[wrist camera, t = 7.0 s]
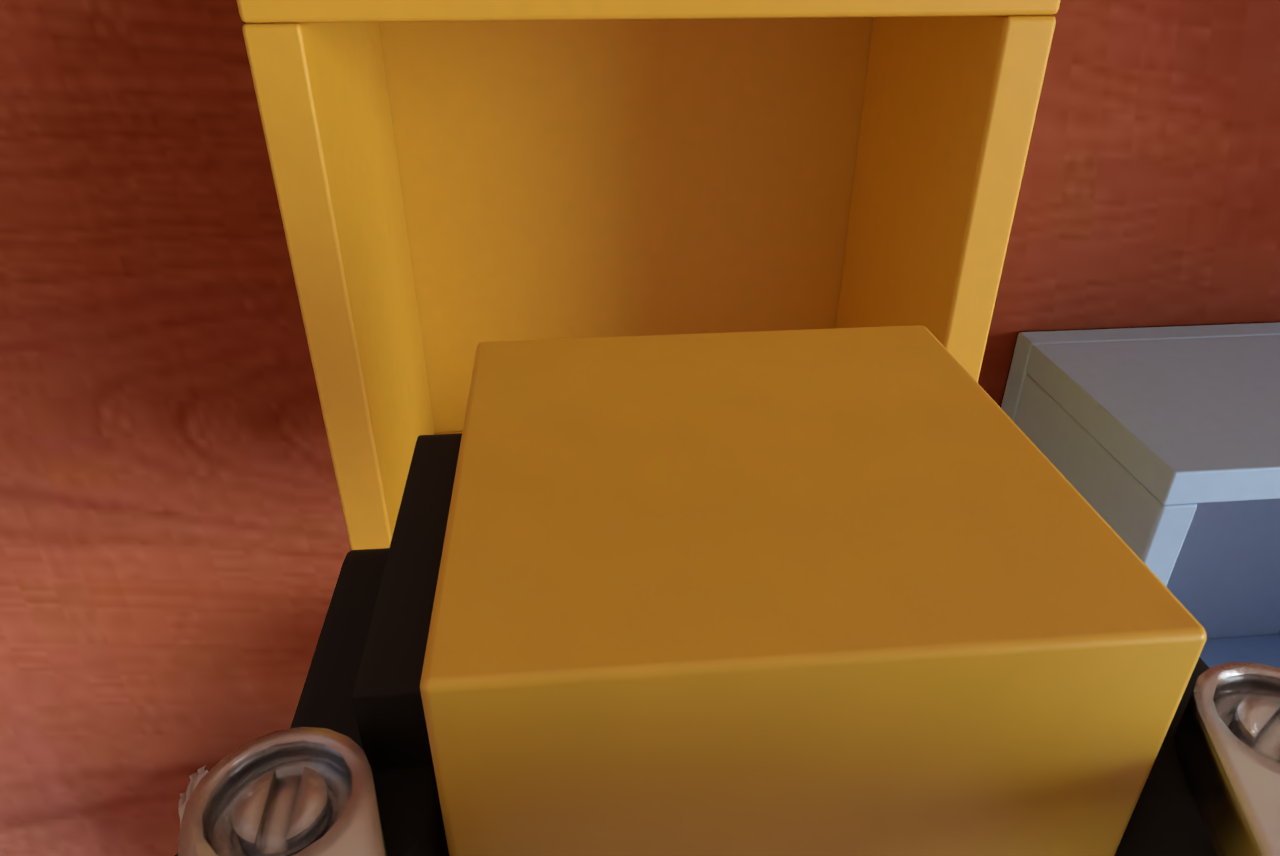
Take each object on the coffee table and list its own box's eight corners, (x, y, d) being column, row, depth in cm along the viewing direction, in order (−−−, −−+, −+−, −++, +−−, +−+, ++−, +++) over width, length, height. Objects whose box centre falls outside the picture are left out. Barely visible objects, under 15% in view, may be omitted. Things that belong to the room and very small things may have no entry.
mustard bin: (334, -58, 17) (225, -42, 12) (906, -61, 18) (1073, -47, 12) (411, 443, 23) (365, 621, 17) (842, 423, 24) (934, 587, 18)
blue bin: (1017, 330, 23) (1175, 472, 17) (1428, 315, 24) (1709, 445, 18) (941, 654, 29) (1040, 842, 23) (1274, 633, 30) (1449, 808, 24)
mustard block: (476, 340, 10) (417, 686, 5) (925, 322, 10) (1215, 632, 6) (510, 675, 12) (490, 1099, 8) (868, 651, 12) (1039, 1042, 8)
